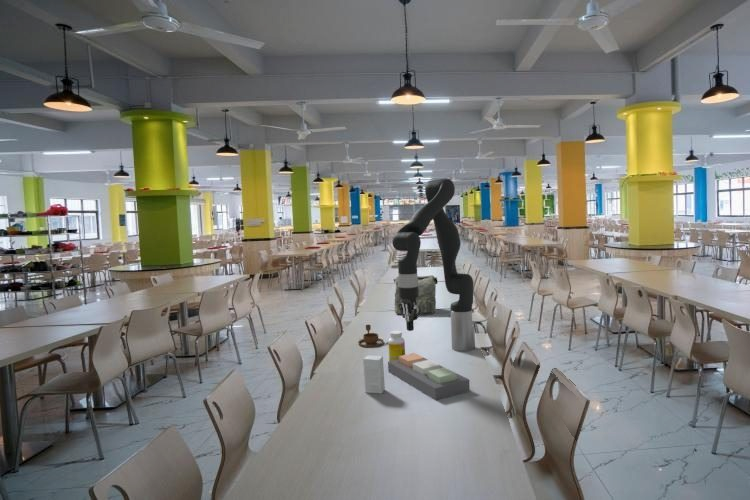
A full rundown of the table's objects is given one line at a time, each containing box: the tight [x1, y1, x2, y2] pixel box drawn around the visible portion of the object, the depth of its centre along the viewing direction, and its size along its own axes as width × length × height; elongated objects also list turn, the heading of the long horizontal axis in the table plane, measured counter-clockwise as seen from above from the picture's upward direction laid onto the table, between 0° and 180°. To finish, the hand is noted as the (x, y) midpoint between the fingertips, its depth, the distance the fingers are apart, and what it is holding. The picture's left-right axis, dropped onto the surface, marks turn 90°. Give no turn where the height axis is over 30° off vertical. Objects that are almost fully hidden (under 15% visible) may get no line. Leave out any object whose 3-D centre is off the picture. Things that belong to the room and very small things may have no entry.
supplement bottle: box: [387, 330, 406, 362], centre depth 190 cm, size 7×7×13 cm
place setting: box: [358, 324, 389, 348], centre depth 223 cm, size 18×20×6 cm
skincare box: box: [362, 355, 386, 394], centre depth 162 cm, size 6×4×12 cm
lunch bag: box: [393, 274, 438, 316], centre depth 281 cm, size 26×18×22 cm
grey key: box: [412, 359, 440, 375], centre depth 170 cm, size 7×7×3 cm
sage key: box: [428, 366, 457, 384], centre depth 161 cm, size 7×7×3 cm
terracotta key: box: [399, 352, 425, 367], centre depth 178 cm, size 7×7×3 cm
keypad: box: [387, 357, 471, 401], centre depth 170 cm, size 14×32×4 cm, turn 27°
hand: (410, 330), depth 177 cm, fingers closed
